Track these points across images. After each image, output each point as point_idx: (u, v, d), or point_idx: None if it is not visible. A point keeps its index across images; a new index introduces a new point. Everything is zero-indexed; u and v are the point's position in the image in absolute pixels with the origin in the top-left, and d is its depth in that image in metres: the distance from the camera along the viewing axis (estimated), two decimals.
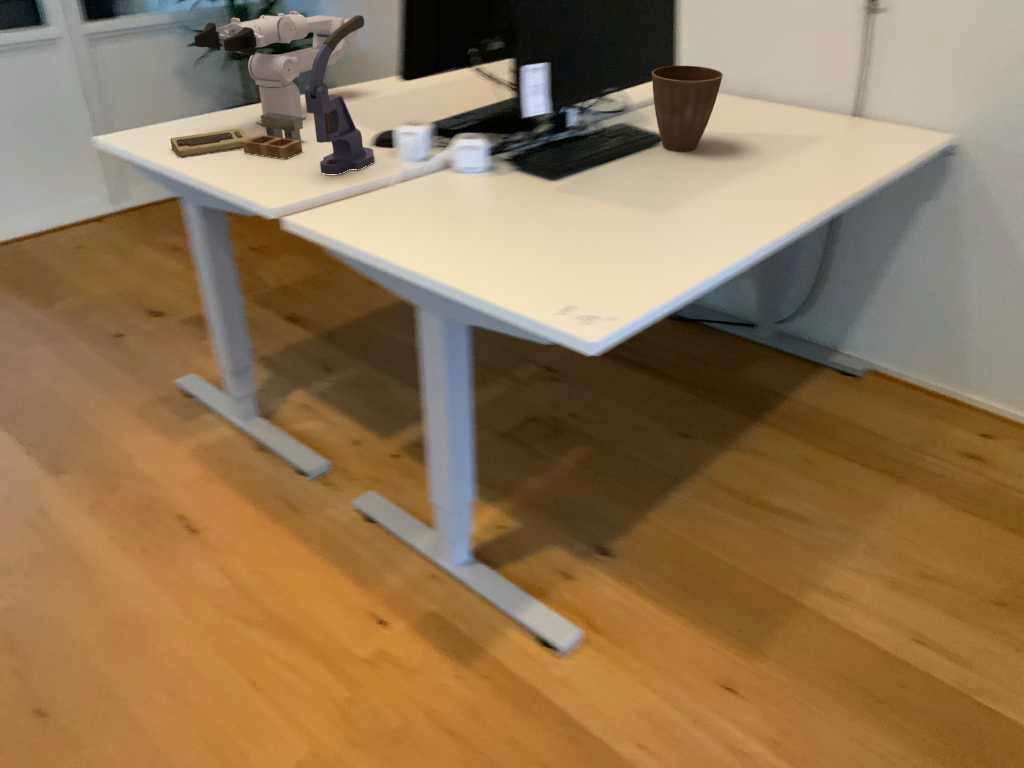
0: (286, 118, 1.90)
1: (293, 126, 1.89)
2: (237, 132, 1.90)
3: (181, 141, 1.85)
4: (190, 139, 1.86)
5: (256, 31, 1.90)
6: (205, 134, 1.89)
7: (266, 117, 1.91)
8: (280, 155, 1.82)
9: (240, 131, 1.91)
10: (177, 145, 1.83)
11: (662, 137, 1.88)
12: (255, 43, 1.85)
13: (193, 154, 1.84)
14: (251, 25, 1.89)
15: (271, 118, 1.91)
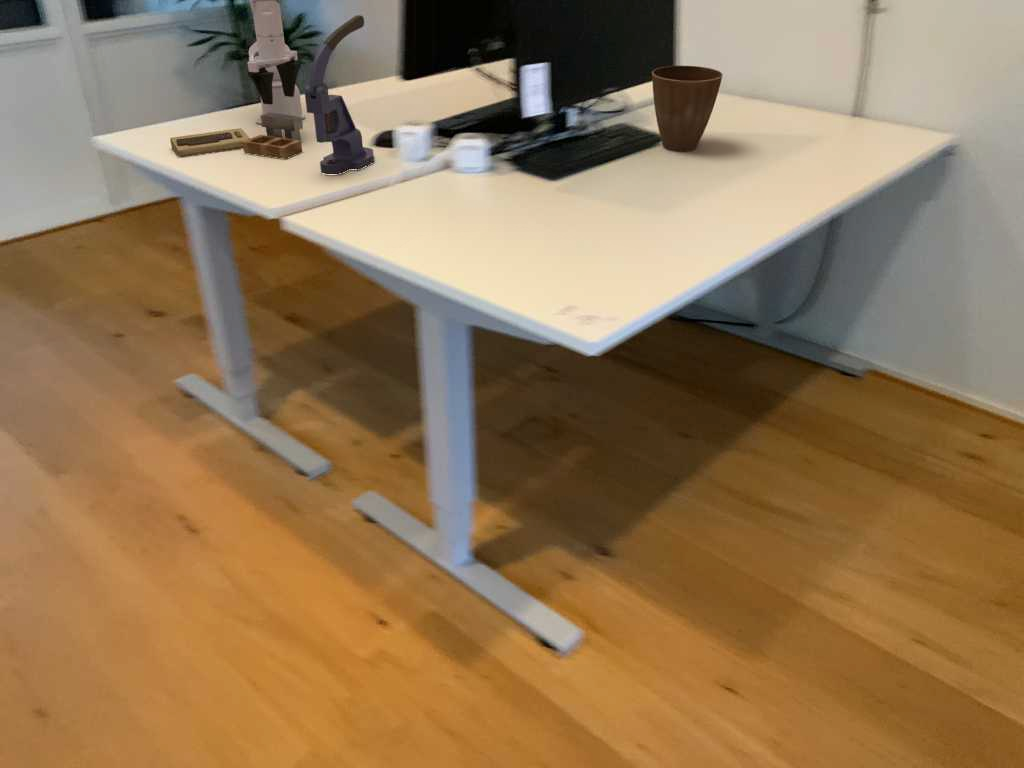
0: (286, 118, 1.90)
1: (293, 126, 1.89)
2: (237, 132, 1.90)
3: (180, 140, 1.85)
4: (190, 139, 1.86)
5: None
6: (205, 134, 1.89)
7: (266, 117, 1.91)
8: (280, 155, 1.82)
9: (240, 131, 1.91)
10: (176, 145, 1.84)
11: (662, 137, 1.88)
12: None
13: (192, 154, 1.84)
14: (284, 42, 1.83)
15: (271, 118, 1.91)
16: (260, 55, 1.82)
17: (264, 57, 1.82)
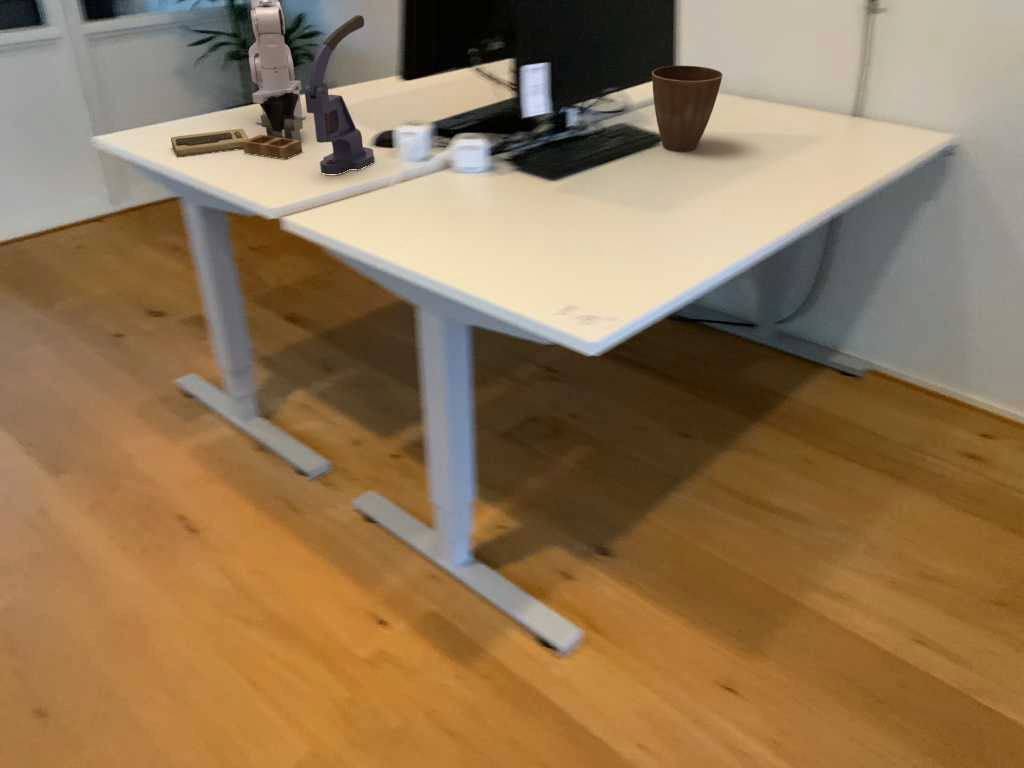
0: (286, 118, 1.90)
1: (293, 126, 1.89)
2: (237, 132, 1.90)
3: (179, 140, 1.85)
4: (189, 138, 1.86)
5: None
6: (205, 134, 1.89)
7: (266, 117, 1.91)
8: (280, 155, 1.82)
9: (240, 131, 1.91)
10: (175, 144, 1.84)
11: (662, 137, 1.88)
12: None
13: (191, 154, 1.84)
14: (288, 73, 1.87)
15: None
16: (264, 86, 1.86)
17: (268, 88, 1.85)
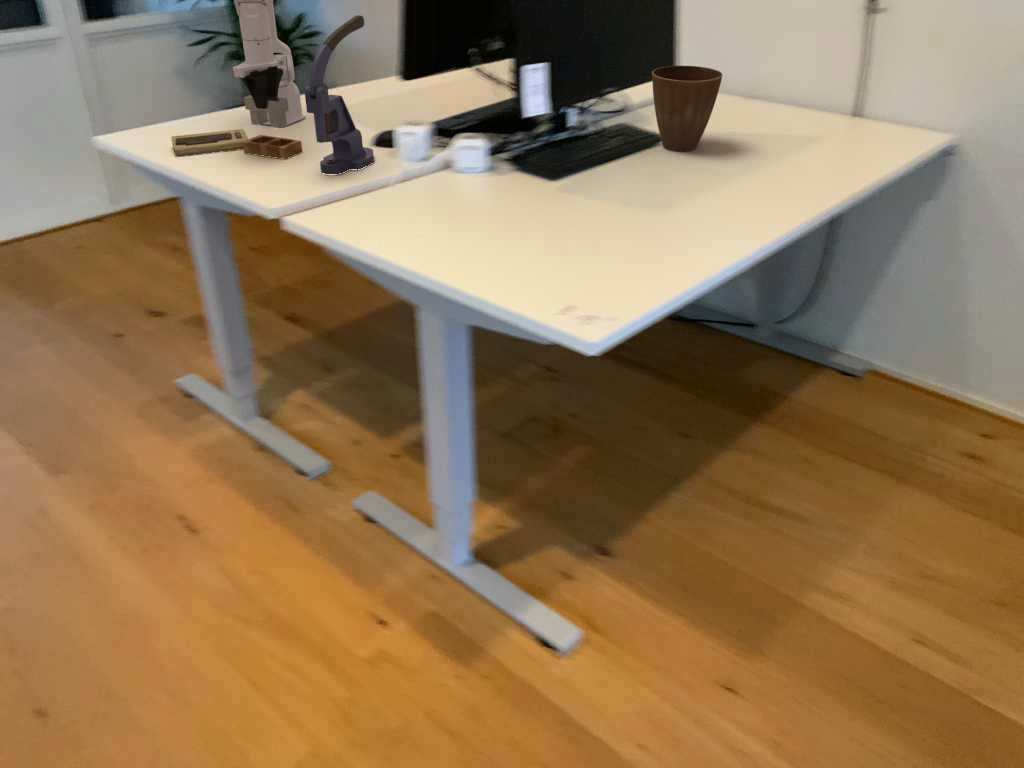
0: (271, 100, 1.79)
1: (278, 108, 1.78)
2: (237, 133, 1.90)
3: (179, 139, 1.85)
4: (189, 138, 1.86)
5: None
6: (206, 134, 1.90)
7: (249, 99, 1.80)
8: (280, 155, 1.82)
9: (241, 132, 1.91)
10: (175, 144, 1.84)
11: (662, 137, 1.88)
12: None
13: (189, 153, 1.84)
14: (272, 46, 1.75)
15: None
16: (247, 60, 1.74)
17: (251, 62, 1.74)
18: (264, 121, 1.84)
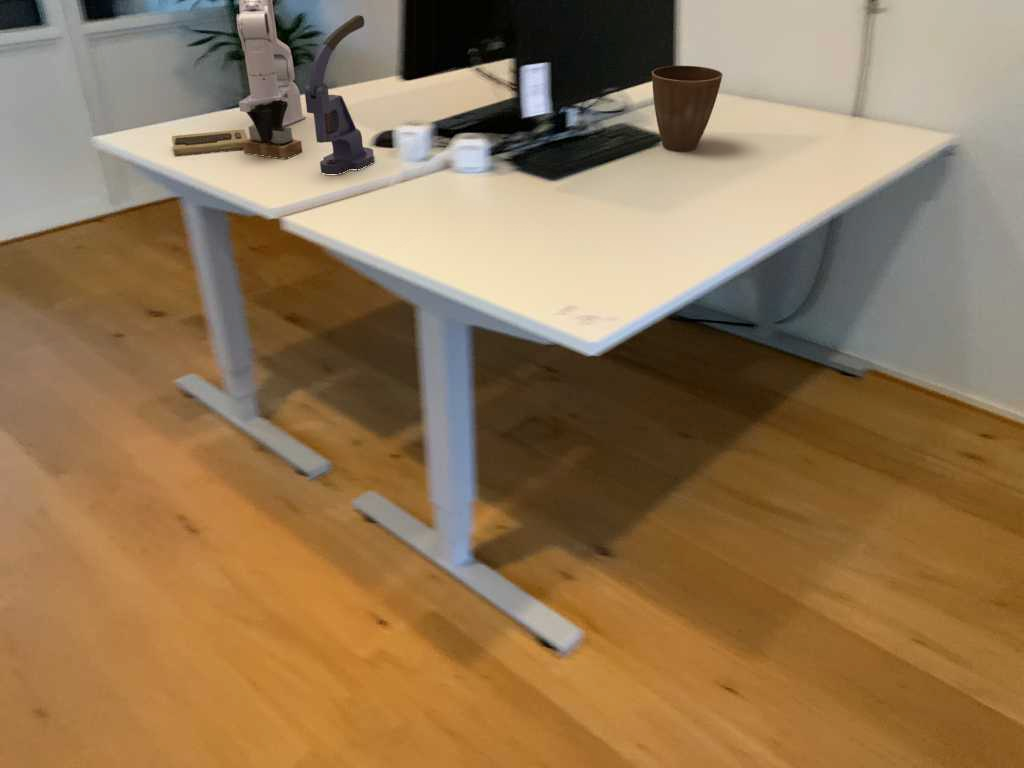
0: (275, 129, 1.82)
1: (282, 138, 1.81)
2: (237, 133, 1.89)
3: (179, 139, 1.86)
4: (189, 138, 1.86)
5: None
6: (206, 133, 1.90)
7: (254, 128, 1.83)
8: (280, 155, 1.82)
9: (241, 132, 1.91)
10: (174, 143, 1.85)
11: (662, 137, 1.88)
12: None
13: (188, 153, 1.84)
14: (276, 80, 1.79)
15: None
16: (252, 94, 1.78)
17: (256, 96, 1.77)
18: None
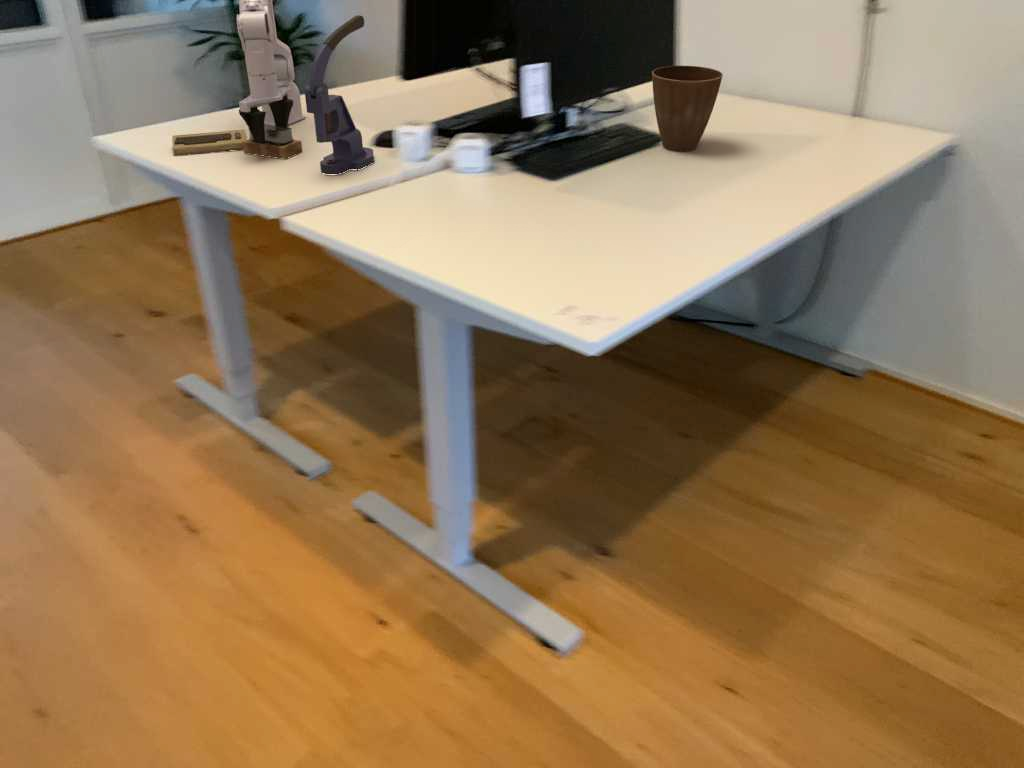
0: (275, 129, 1.82)
1: (282, 138, 1.81)
2: (237, 133, 1.89)
3: (179, 139, 1.86)
4: (188, 138, 1.86)
5: None
6: (207, 133, 1.90)
7: None
8: (280, 155, 1.82)
9: (241, 132, 1.90)
10: (174, 143, 1.85)
11: (662, 137, 1.88)
12: None
13: (187, 153, 1.84)
14: (276, 81, 1.79)
15: None
16: (252, 94, 1.78)
17: (256, 96, 1.77)
18: None
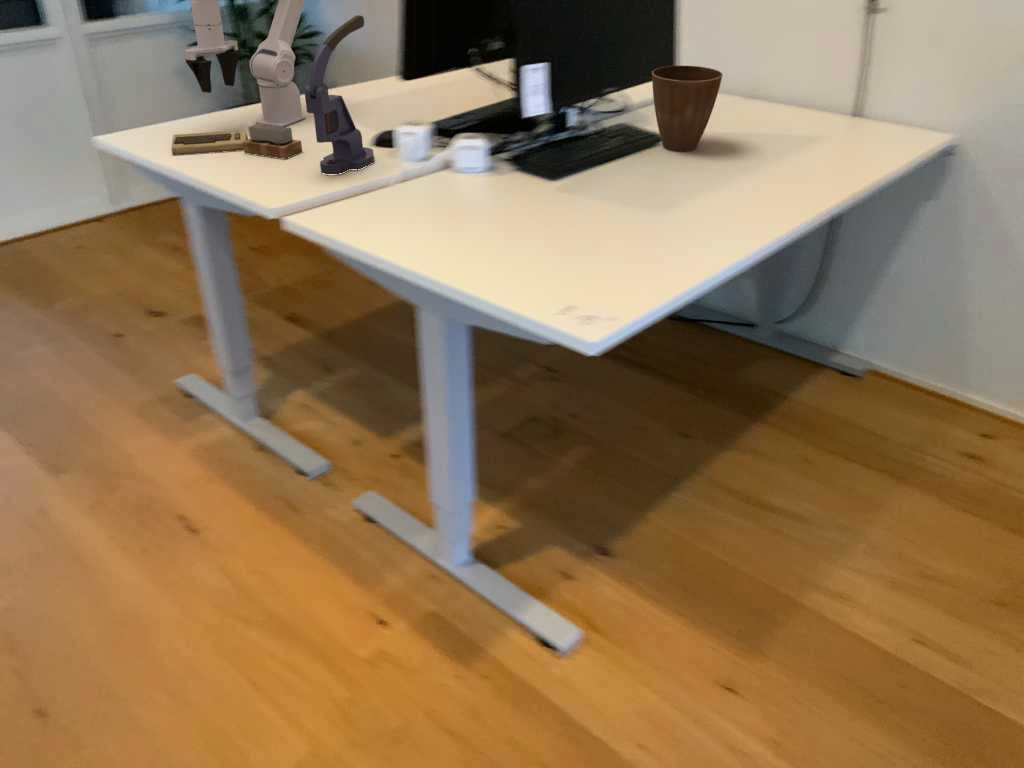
0: (275, 129, 1.82)
1: (282, 138, 1.81)
2: (237, 134, 1.89)
3: (178, 138, 1.86)
4: (188, 137, 1.87)
5: None
6: (207, 133, 1.90)
7: (254, 128, 1.83)
8: (280, 155, 1.82)
9: (242, 133, 1.90)
10: (173, 142, 1.85)
11: (662, 137, 1.88)
12: None
13: (186, 153, 1.85)
14: None
15: (259, 129, 1.83)
16: (198, 44, 1.86)
17: (202, 46, 1.85)
18: None
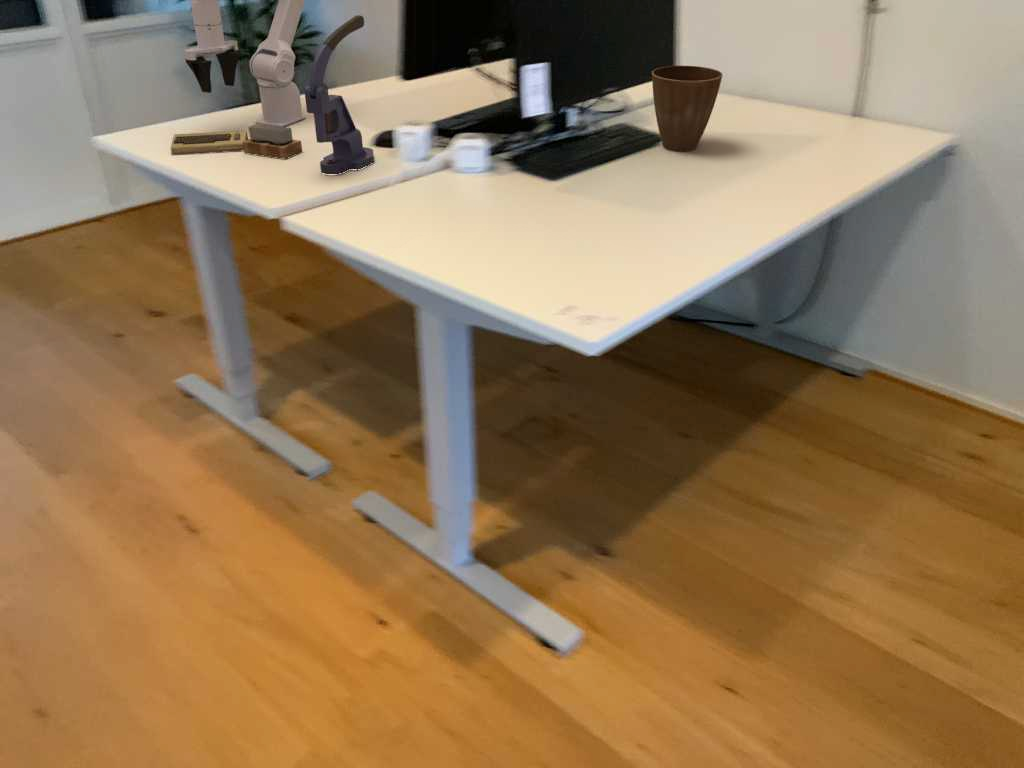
0: (275, 129, 1.82)
1: (282, 138, 1.81)
2: (237, 134, 1.89)
3: (178, 138, 1.86)
4: (188, 137, 1.87)
5: None
6: (208, 133, 1.90)
7: (254, 128, 1.83)
8: (280, 155, 1.82)
9: (242, 133, 1.90)
10: (173, 142, 1.85)
11: (662, 137, 1.88)
12: None
13: (185, 152, 1.85)
14: None
15: (259, 129, 1.83)
16: (198, 44, 1.86)
17: (202, 46, 1.85)
18: None
